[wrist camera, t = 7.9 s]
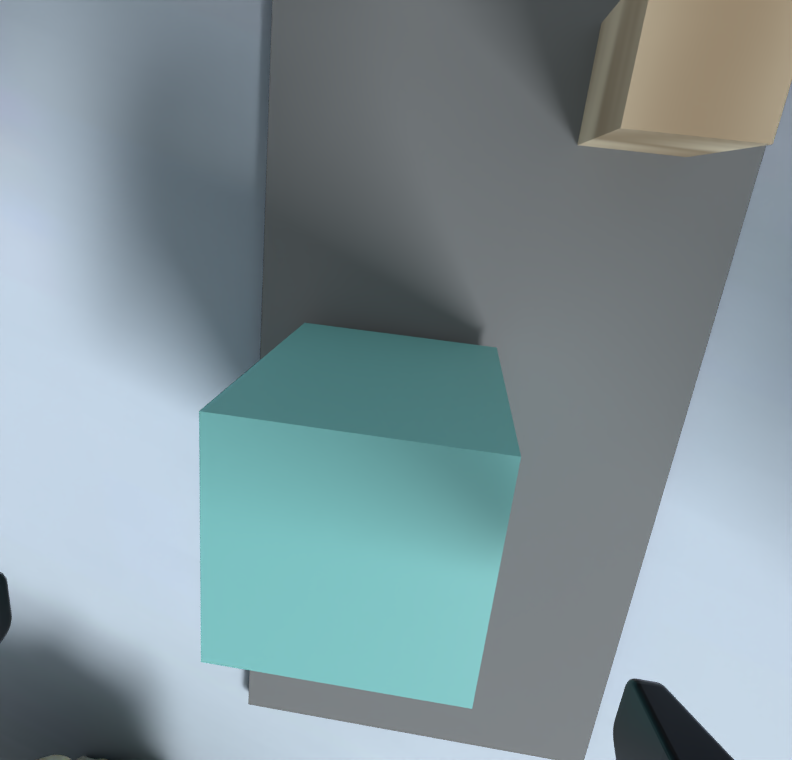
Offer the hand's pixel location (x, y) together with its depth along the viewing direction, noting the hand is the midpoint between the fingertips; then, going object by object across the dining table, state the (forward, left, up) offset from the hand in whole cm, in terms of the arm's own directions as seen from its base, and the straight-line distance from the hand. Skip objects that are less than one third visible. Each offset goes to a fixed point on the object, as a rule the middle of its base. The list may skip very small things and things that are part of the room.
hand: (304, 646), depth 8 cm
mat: (-2, 0, -9) cm, 10 cm away
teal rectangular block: (0, 0, -9) cm, 9 cm away
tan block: (-5, -9, -9) cm, 14 cm away
